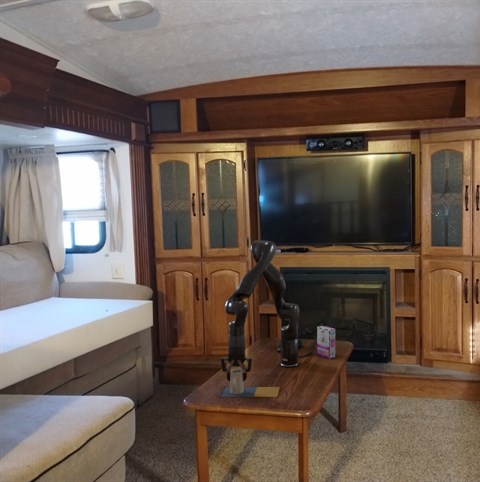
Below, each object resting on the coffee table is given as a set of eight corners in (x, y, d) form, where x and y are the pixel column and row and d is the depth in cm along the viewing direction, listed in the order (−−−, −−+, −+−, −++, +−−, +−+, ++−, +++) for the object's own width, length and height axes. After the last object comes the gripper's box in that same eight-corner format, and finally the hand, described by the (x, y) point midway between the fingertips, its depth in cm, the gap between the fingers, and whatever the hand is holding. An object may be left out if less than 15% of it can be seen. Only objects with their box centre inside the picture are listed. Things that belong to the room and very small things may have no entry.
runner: (226, 387, 203) (226, 387, 203) (279, 387, 203) (279, 387, 203) (220, 397, 192) (220, 396, 192) (277, 397, 192) (277, 396, 192)
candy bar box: (336, 357, 247) (336, 328, 247) (329, 359, 244) (329, 330, 243) (323, 352, 256) (323, 325, 255) (316, 354, 253) (316, 326, 252)
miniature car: (303, 346, 270) (302, 333, 269) (289, 354, 253) (289, 340, 253) (290, 344, 273) (290, 331, 273) (275, 352, 257) (275, 339, 256)
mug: (231, 388, 201) (231, 368, 200) (244, 389, 200) (244, 368, 200) (227, 396, 191) (227, 375, 191) (241, 396, 191) (240, 375, 191)
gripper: (253, 341, 200) (253, 377, 201) (222, 341, 200) (222, 377, 201) (251, 346, 193) (251, 383, 193) (218, 346, 193) (218, 383, 194)
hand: (236, 380), depth 197 cm, fingers closed on mug, 6 cm apart
